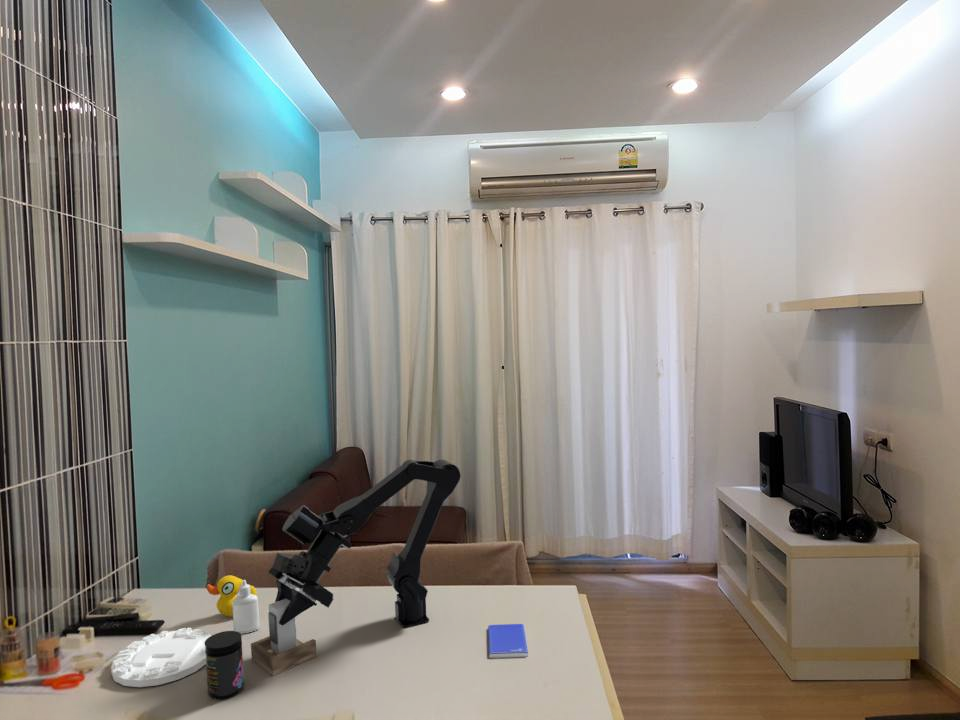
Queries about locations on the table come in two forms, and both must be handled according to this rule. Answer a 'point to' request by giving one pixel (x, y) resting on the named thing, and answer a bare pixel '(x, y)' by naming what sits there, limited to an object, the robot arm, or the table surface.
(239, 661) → the supplement container
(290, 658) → the wooden tray
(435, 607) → the table surface
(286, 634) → the block
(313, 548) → the robot arm
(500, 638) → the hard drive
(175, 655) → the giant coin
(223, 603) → the duckling
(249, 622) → the eye dropper bottle
